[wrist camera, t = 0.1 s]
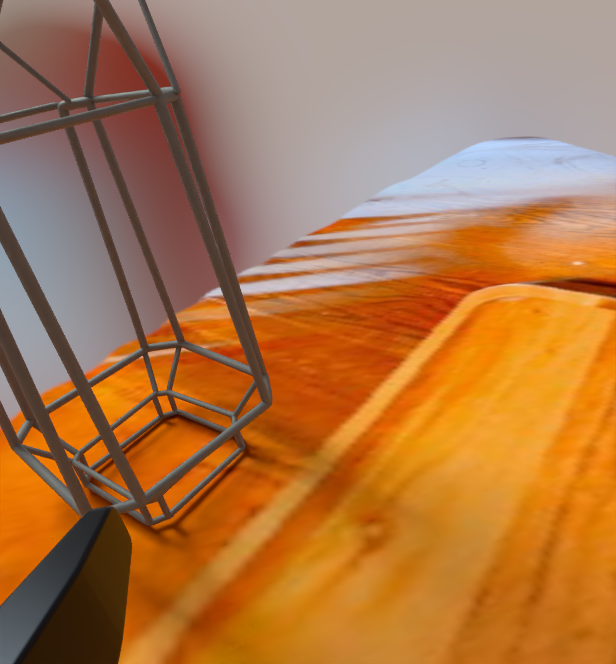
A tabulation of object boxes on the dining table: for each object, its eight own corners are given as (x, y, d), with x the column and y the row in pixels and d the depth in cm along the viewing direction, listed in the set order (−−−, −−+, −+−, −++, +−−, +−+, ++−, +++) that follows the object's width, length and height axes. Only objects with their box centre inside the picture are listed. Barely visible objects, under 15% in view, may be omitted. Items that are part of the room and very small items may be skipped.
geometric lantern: (327, 436, 35) (182, -366, 17) (128, 632, 25) (-678, -745, 7) (182, 372, 44) (-7, -183, 27) (-3, 496, 34) (-489, -245, 17)
